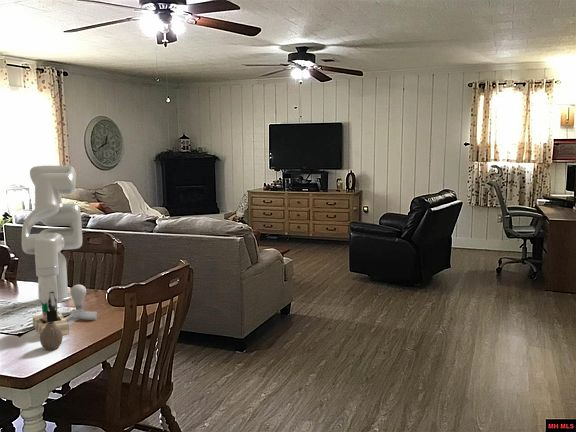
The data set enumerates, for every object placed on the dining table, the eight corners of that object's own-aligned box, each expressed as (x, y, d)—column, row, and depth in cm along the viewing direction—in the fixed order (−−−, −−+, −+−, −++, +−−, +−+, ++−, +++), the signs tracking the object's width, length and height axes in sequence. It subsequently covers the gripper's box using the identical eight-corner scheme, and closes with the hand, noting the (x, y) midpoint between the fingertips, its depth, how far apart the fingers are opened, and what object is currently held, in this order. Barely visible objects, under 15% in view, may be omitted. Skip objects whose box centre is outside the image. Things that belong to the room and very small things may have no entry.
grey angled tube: (61, 319, 199) (60, 312, 199) (91, 314, 206) (91, 307, 205) (66, 325, 193) (66, 318, 192) (97, 319, 199) (97, 312, 199)
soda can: (40, 331, 187) (38, 299, 185) (51, 326, 192) (49, 295, 190) (50, 333, 185) (48, 301, 183) (61, 328, 189) (59, 297, 188)
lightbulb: (81, 313, 207) (80, 287, 205) (68, 312, 208) (66, 286, 206) (90, 308, 213) (89, 283, 211) (77, 307, 214) (75, 282, 212)
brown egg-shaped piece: (45, 344, 175) (43, 319, 174) (66, 343, 176) (64, 319, 174) (37, 352, 168) (35, 326, 167) (58, 351, 169) (57, 326, 168)
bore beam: (33, 326, 192) (32, 315, 191) (58, 321, 197) (58, 311, 197) (42, 339, 179) (41, 328, 179) (69, 333, 185) (68, 323, 184)
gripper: (31, 267, 190) (34, 314, 192) (41, 277, 176) (44, 327, 179) (53, 264, 194) (55, 310, 197) (64, 274, 181) (66, 323, 183)
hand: (50, 318), depth 188 cm, fingers closed on soda can, 5 cm apart
